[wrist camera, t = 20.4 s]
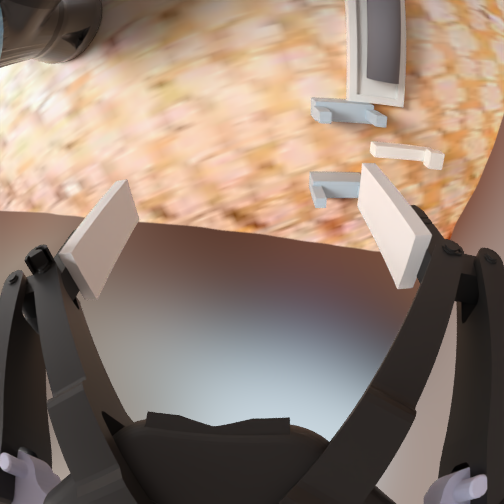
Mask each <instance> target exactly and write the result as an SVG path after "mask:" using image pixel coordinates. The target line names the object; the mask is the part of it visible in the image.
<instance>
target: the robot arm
mask: <svg viewBox="0 0 504 504" xmlns="http://www.w3.org/2000/svg"><path fill="white" fill-rule="evenodd" d="M101 17H102V5H101V1H100V0H0V68H1V67H4V66H7V65H11V64H14V63H18V62H21V61H25V60H29V59H34V60H38V61H41V62H44V63H49V64H55V63H60V62H65V61H68V60H71V59H73V58H75V57H76V56H78V55H79V54H80V53H81V52H83V51H84V50H85V49H86V48H87V46H88V45H89V44H90V43H91V41H92V40H93V38H94V36H95V35H96V33H97V30H98V28H99V25H100V22H101ZM357 207H358V209H359V210H360V212H361V214H362V216H363V218H364V220H365V222H366V224H367V226H368V227H369V229H370V231H371V233H372V235H373V237H374V239H375V241H376V243H377V245H378V247H379V250H380V252H381V254H382V256H383V258H384V260H385V262H386V264H387V266H388V269H389V271H390V273H391V275H392V277H393V280H394V282H395V284H396V287H397V289H404V288H412V287H413V286H414V283H415V280H416V278H418V280H419V282H420V287H419V289H418V291H417V293H416V296H415V298H414V300H413V303H412V305H411V307H410V309H409V312H408V314H407V316H406V318H405V320H404V322H403V324H402V326H401V328H400V330H399V332H398V334H397V336H396V338H395V340H394V342H393V344H392V346H391V348H390V350H389V352H388V354H387V355H386V357H385V359H384V361H383V363H382V364H381V366H380V368H379V369H378V371H377V373H376V374H375V376H374V378H373V379H372V381H371V383H370V385H369V386H368V388H367V389H366V391H365V393H364V394H363V396H362V397H361V399H360V400H359V402H358V403H357V405H356V406H355V408H354V409H353V411H352V412H351V414H350V415H349V417H348V418H347V419H346V421H345V422H344V424H343V425H342V426H341V428H340V429H339V430H338V432H337V433H336V434H335V436H334V437H333V438H332V440H331V441H330V442H329V441H328V440H326V439H325V438H323V437H322V436H321V435H319V434H317V433H315V432H313V431H311V430H309V429H306V428H303V427H299V426H295V425H290V418H268V419H250V420H245V421H241V422H236V423H232V424H227V425H221V426H210V425H207V424H203V423H200V422H197V421H194V420H191V419H188V418H185V417H183V416H180V415H171V414H163V413H155V412H148V413H147V418H146V419H145V420H141V421H137V422H133V421H132V420H131V419H130V417H129V416H128V415H127V413H126V412H125V410H124V408H123V406H122V404H121V402H120V400H119V398H118V396H117V394H116V392H115V390H114V388H113V386H112V384H111V382H110V379H109V377H108V375H107V373H106V371H105V368H104V366H103V364H102V361H101V359H100V357H99V354H98V352H97V349H96V347H95V344H94V342H93V339H92V336H91V334H90V331H89V328H88V325H87V323H86V320H85V317H84V314H83V311H82V308H81V305H80V302H79V300H78V299H77V297H76V296H77V294H78V292H79V291H80V292H81V294H82V296H83V297H84V299H88V300H89V299H90V300H97V299H98V297H99V295H100V292H101V291H102V288H103V286H104V284H105V282H106V280H107V278H108V276H109V274H110V272H111V270H112V268H113V266H114V264H115V263H116V260H117V259H118V257H119V255H120V253H121V251H122V249H123V247H124V246H125V244H126V242H127V240H128V238H129V237H130V235H131V233H132V231H133V229H134V227H135V226H136V224H137V222H138V221H139V216H138V213H137V210H136V207H135V204H134V200H133V197H132V194H131V191H130V187H129V184H128V180H127V179H126V180H120V181H116V182H115V183H114V184H113V185H112V186H111V188H110V189H109V190H108V191H107V192H106V193H105V194H104V196H103V197H102V198H101V199H100V200H99V202H98V203H97V204H96V205H95V206H94V208H93V209H92V210H91V211H90V213H89V214H88V215H87V216H86V218H85V219H84V220H83V222H82V223H81V224H80V225H79V227H78V228H77V229H75V230H74V231H73V232H72V234H71V235H70V236H69V237H68V239H67V241H66V242H65V243H64V245H63V246H62V247H61V248H60V250H59V251H58V253H57V254H56V256H55V257H54V258H53V257H52V255H51V253H50V251H49V249H48V247H47V245H39V246H38V247H35V248H34V249H33V250H31V251H30V252H29V253H28V255H27V256H26V258H25V262H26V264H27V266H28V267H29V269H30V271H31V272H32V274H33V275H32V276H29V277H25V275H24V273H23V272H22V271H21V270H18V271H15V272H13V273H11V275H9V276H8V278H7V279H6V281H5V283H4V286H3V289H2V293H1V296H0V504H396V503H395V502H394V501H393V500H391V499H390V498H389V497H388V496H387V495H385V494H384V493H383V492H382V491H381V490H380V489H379V488H378V487H376V486H375V485H376V484H377V482H378V481H379V479H380V478H381V476H382V475H383V473H384V472H385V470H386V469H387V467H388V465H389V464H390V462H391V461H392V459H393V458H394V456H395V454H396V453H397V451H398V449H399V447H400V446H401V444H402V442H403V440H404V439H405V437H406V435H407V433H408V431H409V429H410V427H411V425H412V423H413V421H414V419H415V417H416V410H415V407H416V405H417V402H418V400H419V398H420V396H421V394H422V391H423V389H424V387H425V385H426V382H427V380H428V377H429V375H430V373H431V370H432V368H433V365H434V363H435V360H436V357H437V355H438V352H439V349H440V346H441V343H442V340H443V337H444V334H445V331H446V328H447V325H448V321H449V318H450V315H451V311H452V308H453V304H454V301H456V302H457V349H456V365H455V378H454V387H453V396H452V403H451V410H450V416H449V422H448V427H447V432H446V438H445V442H444V446H443V451H442V456H441V461H440V468H439V476H438V480H436V481H435V482H434V483H433V484H432V485H431V486H430V488H429V490H428V492H427V493H426V494H425V496H424V504H504V265H503V262H502V260H501V258H500V257H499V255H498V254H497V253H496V252H494V251H493V250H491V249H488V248H481V249H480V250H479V251H478V254H477V256H471V255H467V254H464V251H463V249H462V248H461V247H460V246H459V245H458V244H457V243H455V242H453V241H451V240H448V239H444V238H443V237H442V235H441V234H440V232H439V231H438V230H437V228H436V227H435V226H434V224H432V222H431V220H430V219H428V217H427V215H426V214H425V213H424V211H422V210H421V209H420V208H418V207H417V206H415V205H410V204H409V203H408V202H407V201H406V199H405V198H404V197H403V196H402V194H401V193H400V192H399V191H398V189H397V188H396V187H395V186H394V185H393V183H392V182H391V181H390V180H389V179H388V178H387V176H386V175H385V174H384V173H383V172H382V171H381V170H380V168H379V167H378V166H377V165H376V164H375V163H362V171H361V180H360V189H359V197H358V205H357ZM23 314H24V315H25V318H24V316H23ZM46 371H47V375H48V379H49V383H50V387H51V391H52V394H53V398H51V399H49V400H48V402H47V399H46ZM47 409H48V412H49V416H50V419H51V422H52V425H53V428H54V431H55V435H56V437H57V440H58V443H59V446H60V448H61V451H62V454H63V456H64V459H65V461H66V463H67V466H68V468H69V470H70V473H71V474H69V475H68V476H67V477H66V478H65V479H64V480H62V481H60V478H59V477H58V475H56V474H54V473H53V471H52V455H51V453H52V452H51V442H50V433H49V425H48V414H47Z"/></svg>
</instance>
